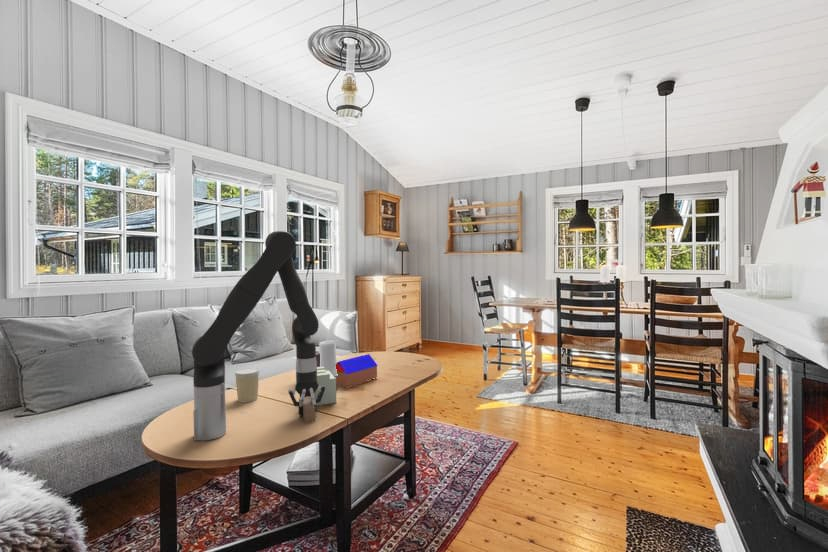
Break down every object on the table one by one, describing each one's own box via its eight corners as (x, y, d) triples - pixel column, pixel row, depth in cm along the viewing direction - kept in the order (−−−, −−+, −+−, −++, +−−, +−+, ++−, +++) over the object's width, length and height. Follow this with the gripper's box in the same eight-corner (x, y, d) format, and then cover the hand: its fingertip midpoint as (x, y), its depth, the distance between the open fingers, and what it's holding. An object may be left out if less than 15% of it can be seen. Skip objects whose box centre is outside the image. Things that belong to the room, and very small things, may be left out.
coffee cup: (251, 394, 173) (251, 367, 173) (264, 398, 168) (263, 370, 168) (231, 400, 166) (230, 372, 165) (243, 404, 160) (243, 375, 160)
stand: (311, 406, 157) (310, 376, 157) (306, 396, 170) (305, 368, 169) (336, 402, 161) (335, 373, 161) (329, 392, 174) (328, 365, 174)
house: (378, 378, 196) (377, 355, 195) (347, 388, 180) (346, 363, 180) (361, 375, 203) (361, 352, 203) (330, 384, 188) (330, 359, 188)
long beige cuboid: (305, 423, 140) (305, 409, 140) (299, 410, 153) (299, 397, 153) (315, 421, 142) (315, 407, 142) (309, 409, 154) (308, 396, 154)
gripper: (287, 373, 141) (288, 421, 141) (327, 369, 147) (328, 415, 147) (285, 369, 148) (286, 414, 148) (323, 364, 153) (324, 408, 154)
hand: (307, 414), depth 147 cm, fingers closed on long beige cuboid, 3 cm apart
